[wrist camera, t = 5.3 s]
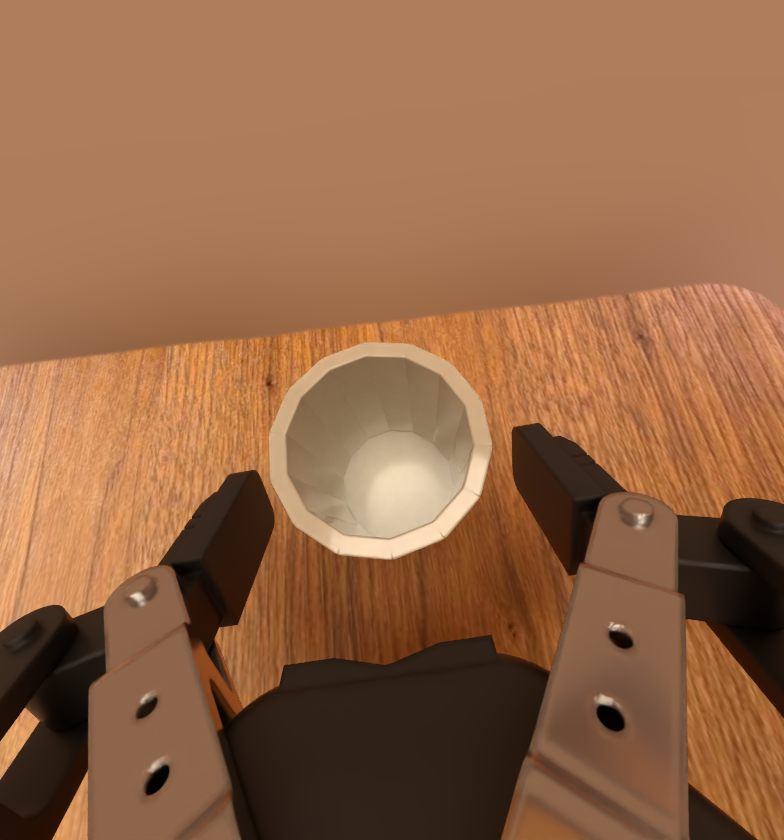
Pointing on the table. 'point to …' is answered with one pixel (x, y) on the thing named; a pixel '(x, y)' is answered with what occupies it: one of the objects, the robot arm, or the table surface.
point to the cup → (379, 450)
